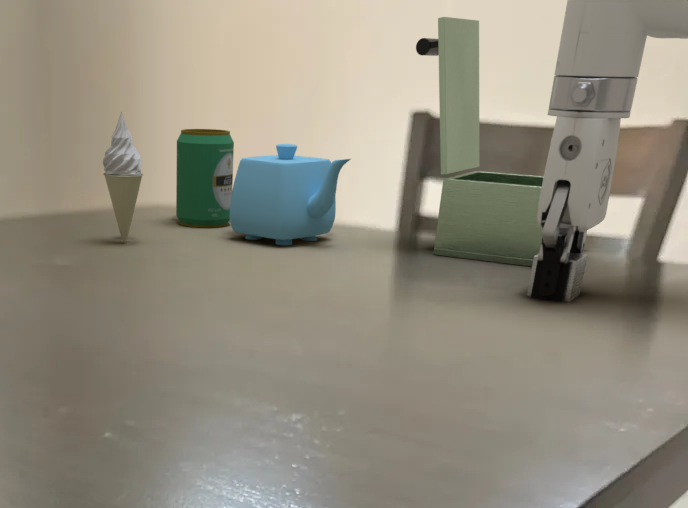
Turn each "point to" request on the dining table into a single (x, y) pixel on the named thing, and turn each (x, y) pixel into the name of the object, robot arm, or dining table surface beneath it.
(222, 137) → the beverage can
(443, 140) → the lid
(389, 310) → the dining table surface
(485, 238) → the green open box
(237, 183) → the teapot
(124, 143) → the ice cream cone
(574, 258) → the block
